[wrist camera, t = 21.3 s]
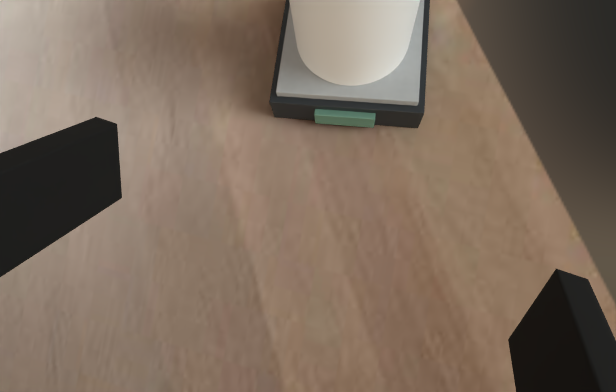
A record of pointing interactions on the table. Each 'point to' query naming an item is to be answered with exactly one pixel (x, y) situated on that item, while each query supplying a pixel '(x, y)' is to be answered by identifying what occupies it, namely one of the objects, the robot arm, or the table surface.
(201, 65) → the table surface
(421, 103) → the scale
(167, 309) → the table surface
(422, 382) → the table surface
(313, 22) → the cup
